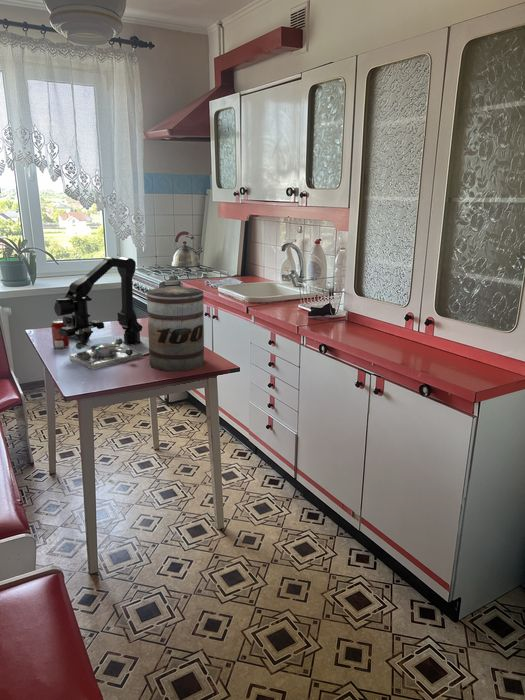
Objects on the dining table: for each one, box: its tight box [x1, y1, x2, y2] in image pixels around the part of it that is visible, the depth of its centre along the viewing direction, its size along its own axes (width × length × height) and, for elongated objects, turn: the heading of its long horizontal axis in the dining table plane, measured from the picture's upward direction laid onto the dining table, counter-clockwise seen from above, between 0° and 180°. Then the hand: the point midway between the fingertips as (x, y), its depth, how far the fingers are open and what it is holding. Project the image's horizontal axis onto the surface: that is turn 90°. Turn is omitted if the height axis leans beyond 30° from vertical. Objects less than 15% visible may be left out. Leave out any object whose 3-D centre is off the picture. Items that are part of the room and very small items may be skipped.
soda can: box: [50, 319, 70, 349], centre depth 236 cm, size 7×7×12 cm
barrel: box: [146, 286, 205, 373], centre depth 216 cm, size 22×22×30 cm
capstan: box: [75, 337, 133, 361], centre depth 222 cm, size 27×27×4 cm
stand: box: [68, 344, 144, 370], centre depth 224 cm, size 24×18×2 cm
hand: (84, 347), depth 228 cm, fingers closed
